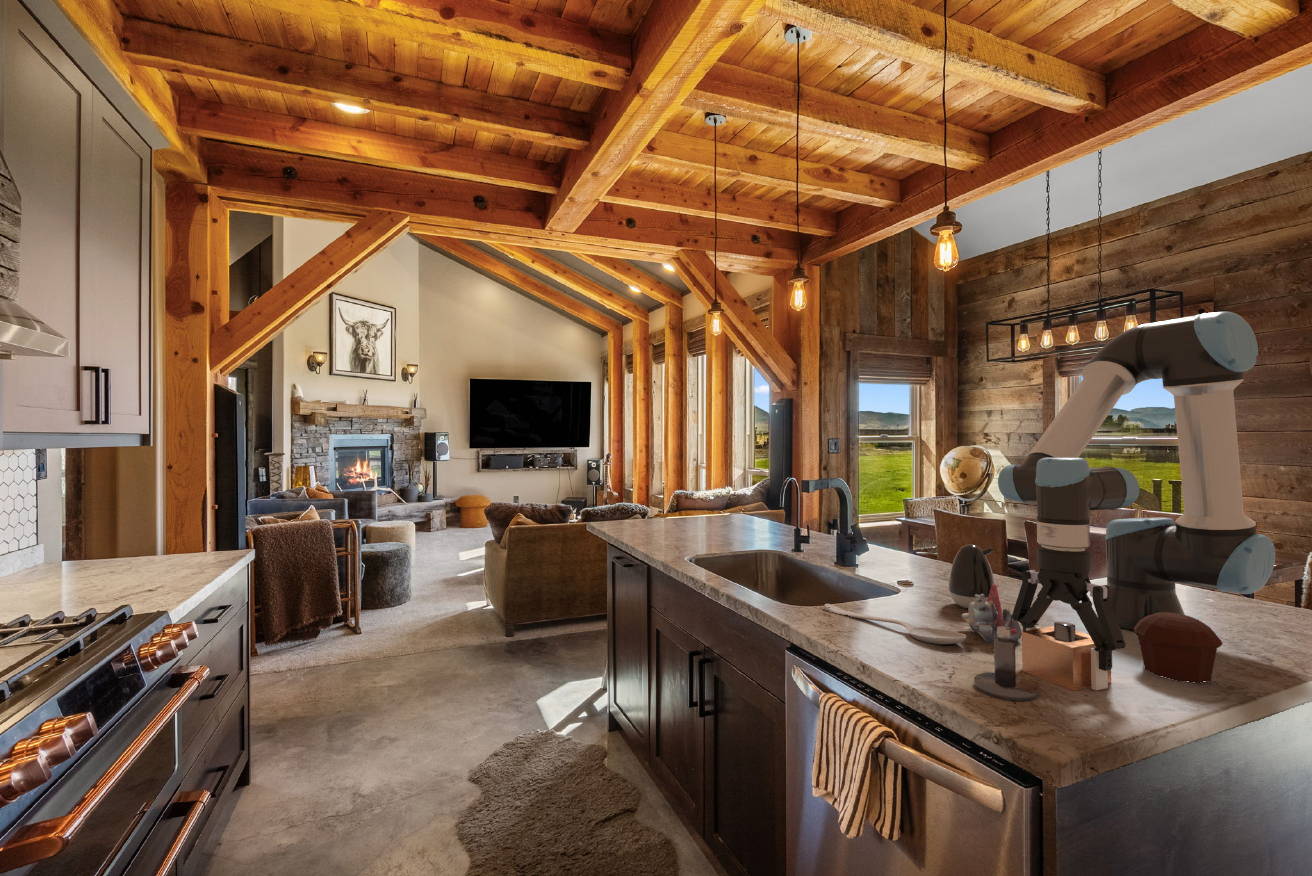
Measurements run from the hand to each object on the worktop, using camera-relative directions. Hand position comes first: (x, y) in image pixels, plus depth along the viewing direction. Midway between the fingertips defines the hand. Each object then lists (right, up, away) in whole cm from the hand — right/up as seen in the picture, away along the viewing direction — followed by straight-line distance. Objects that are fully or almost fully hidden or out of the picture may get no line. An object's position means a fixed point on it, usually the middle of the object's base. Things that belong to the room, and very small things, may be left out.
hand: (1065, 675), depth 102 cm
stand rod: (0, 0, 0) cm, 0 cm away
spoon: (-19, -1, +29) cm, 35 cm away
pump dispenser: (+7, -1, +43) cm, 44 cm away
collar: (0, 0, 0) cm, 0 cm away
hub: (-13, 0, -5) cm, 14 cm away
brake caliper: (-1, -1, +21) cm, 21 cm away
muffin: (+20, 0, +1) cm, 20 cm away
